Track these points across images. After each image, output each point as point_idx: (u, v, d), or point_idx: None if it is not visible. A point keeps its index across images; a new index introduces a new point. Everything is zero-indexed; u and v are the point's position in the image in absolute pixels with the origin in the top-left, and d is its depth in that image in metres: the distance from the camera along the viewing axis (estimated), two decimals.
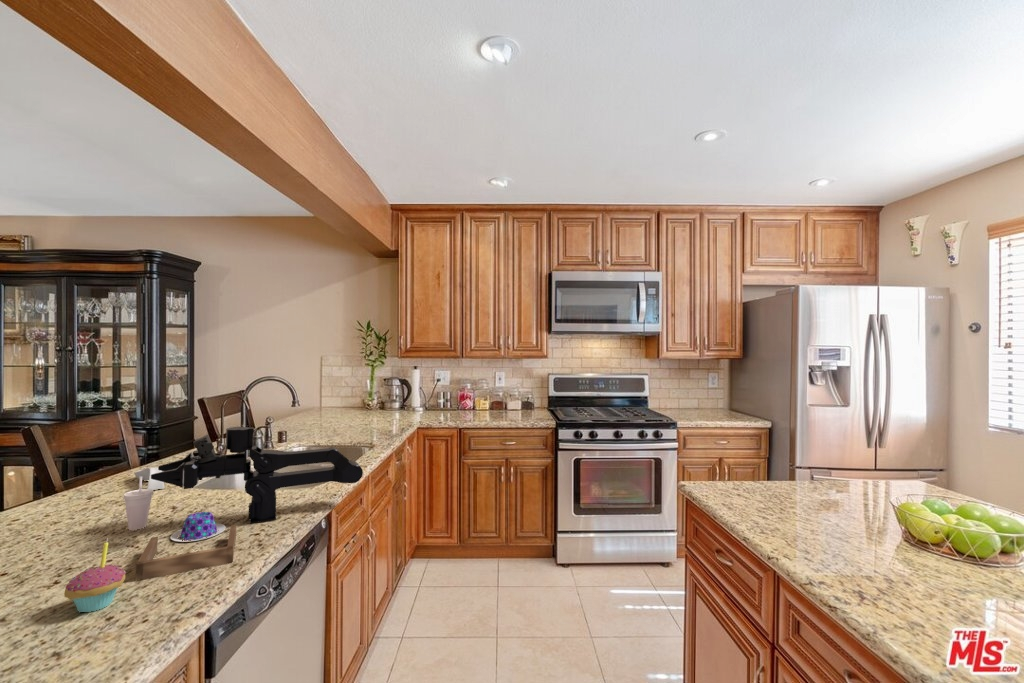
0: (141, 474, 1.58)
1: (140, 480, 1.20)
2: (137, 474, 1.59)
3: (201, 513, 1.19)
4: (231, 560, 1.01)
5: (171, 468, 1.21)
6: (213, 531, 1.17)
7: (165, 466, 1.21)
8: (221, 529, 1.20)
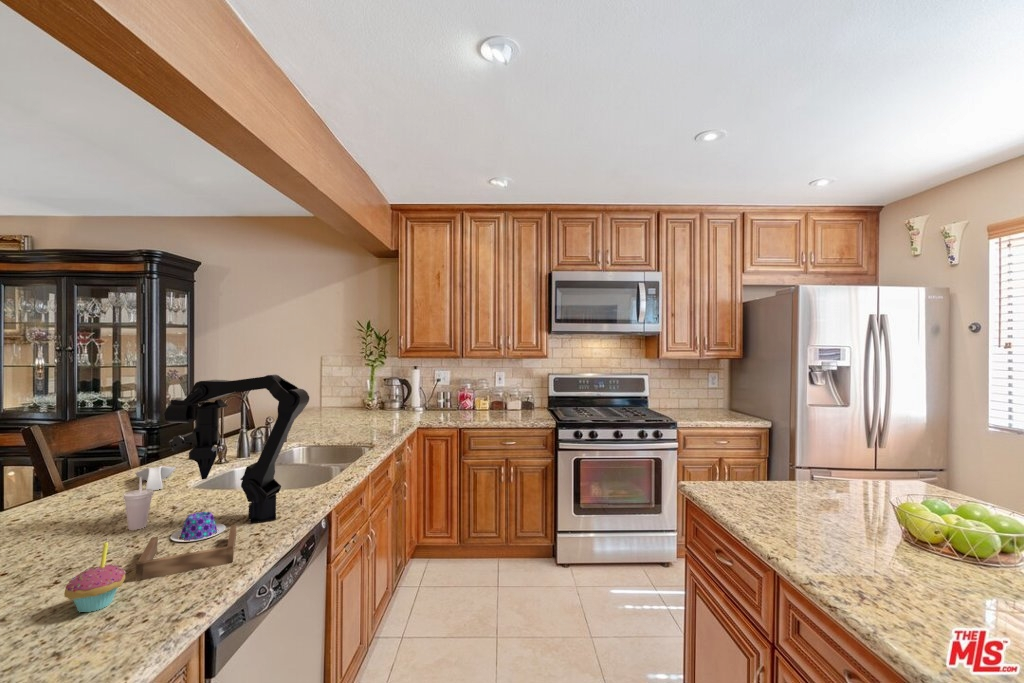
0: (142, 474, 1.58)
1: (140, 480, 1.20)
2: (138, 474, 1.59)
3: (201, 513, 1.19)
4: (231, 560, 1.01)
5: None
6: (213, 531, 1.18)
7: None
8: (221, 529, 1.20)
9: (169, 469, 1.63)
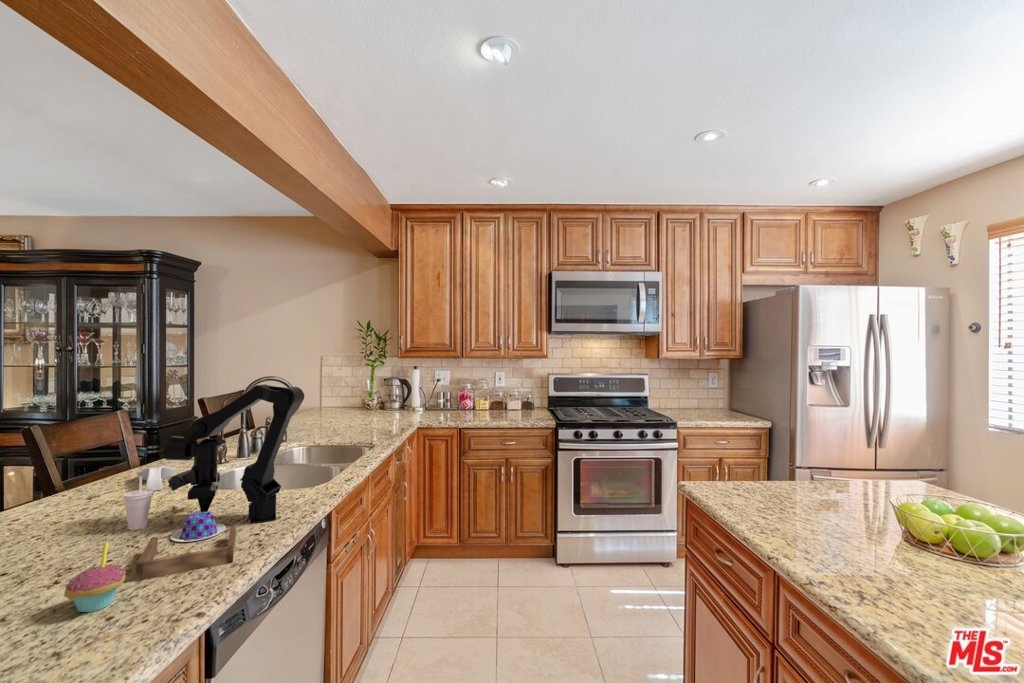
0: (143, 474, 1.58)
1: (140, 480, 1.20)
2: (139, 474, 1.59)
3: (200, 513, 1.19)
4: (231, 560, 1.01)
5: None
6: (214, 531, 1.18)
7: None
8: (221, 528, 1.20)
9: (170, 469, 1.63)
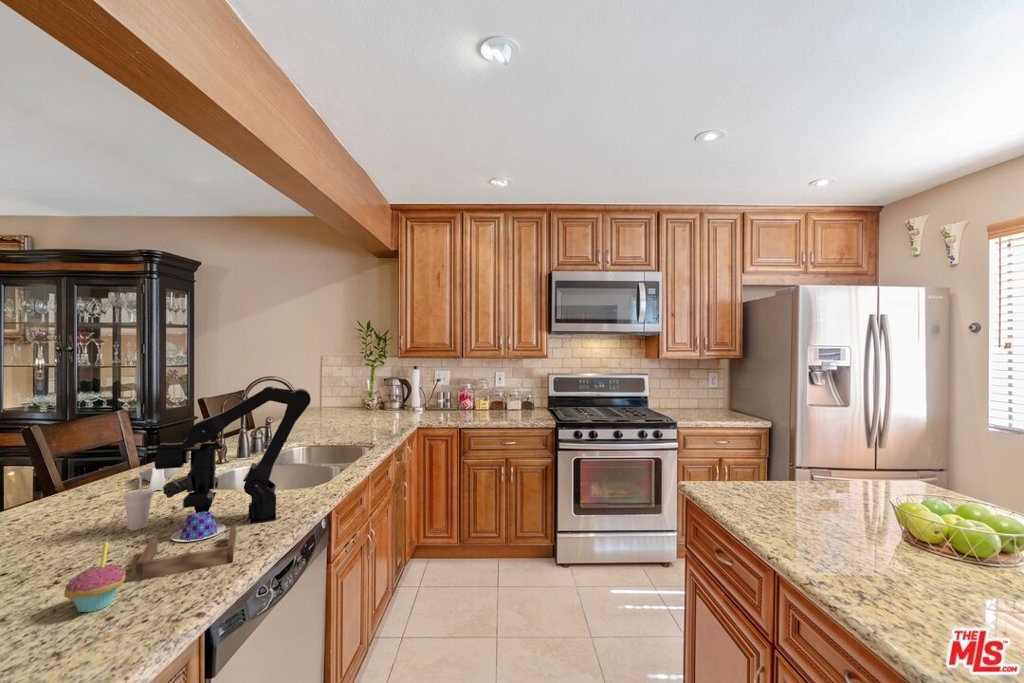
0: (145, 474, 1.58)
1: (140, 480, 1.20)
2: (141, 474, 1.59)
3: (200, 513, 1.19)
4: (231, 560, 1.01)
5: None
6: (214, 530, 1.18)
7: None
8: (221, 528, 1.20)
9: (172, 469, 1.63)
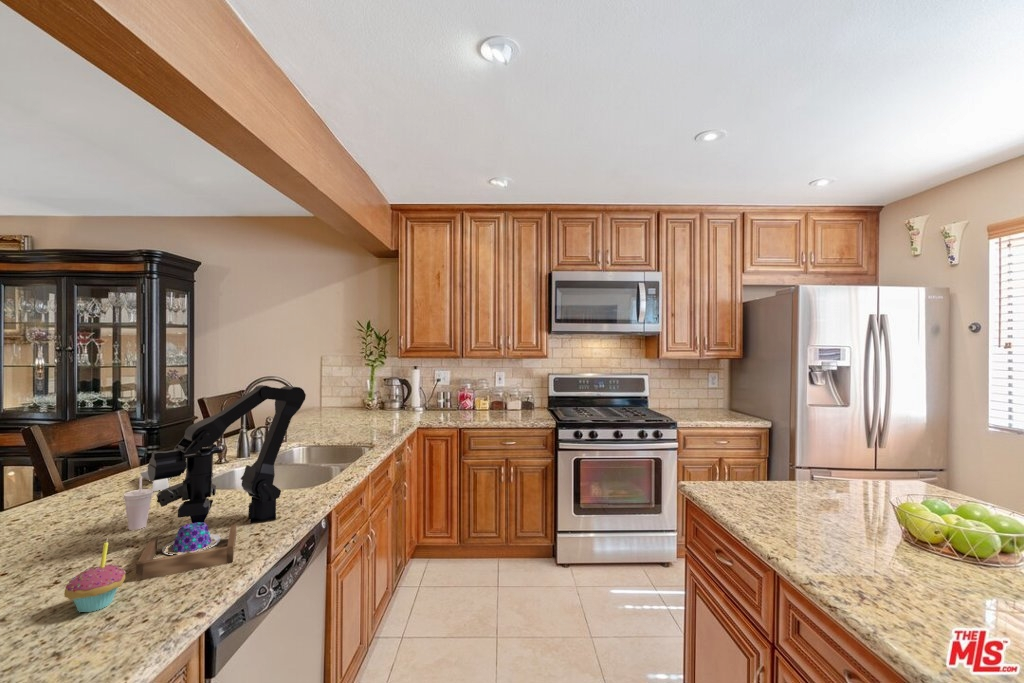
0: (147, 474, 1.58)
1: (140, 480, 1.20)
2: (143, 474, 1.59)
3: (194, 524, 1.12)
4: (231, 560, 1.01)
5: None
6: (208, 542, 1.11)
7: None
8: (216, 540, 1.13)
9: None
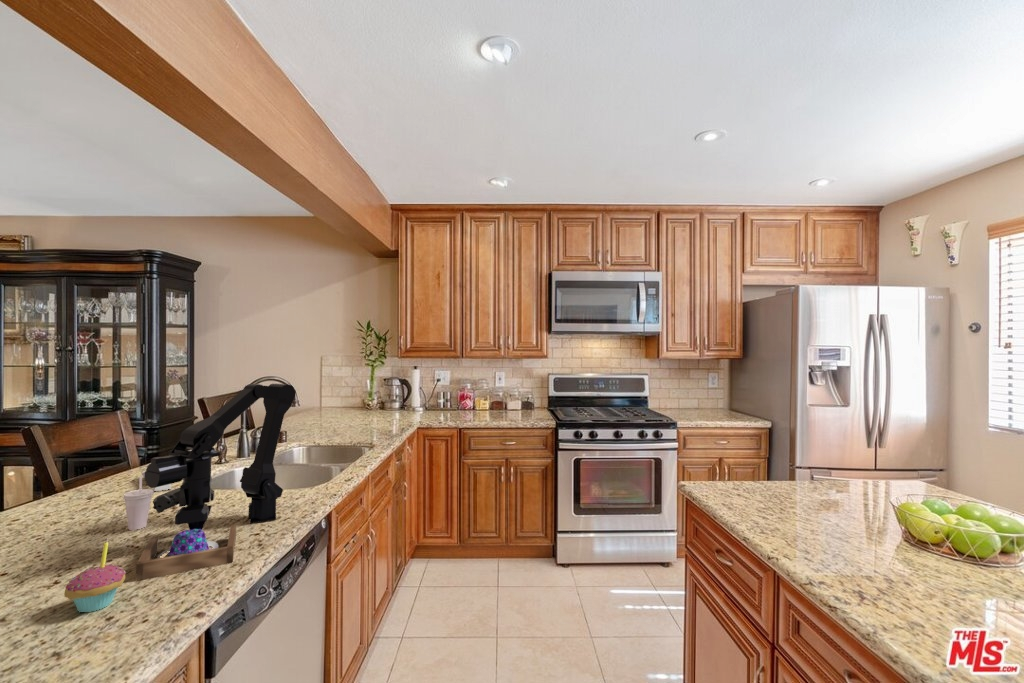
0: None
1: (140, 480, 1.20)
2: (144, 474, 1.59)
3: (190, 531, 1.08)
4: (231, 560, 1.01)
5: None
6: None
7: None
8: (214, 547, 1.09)
9: None
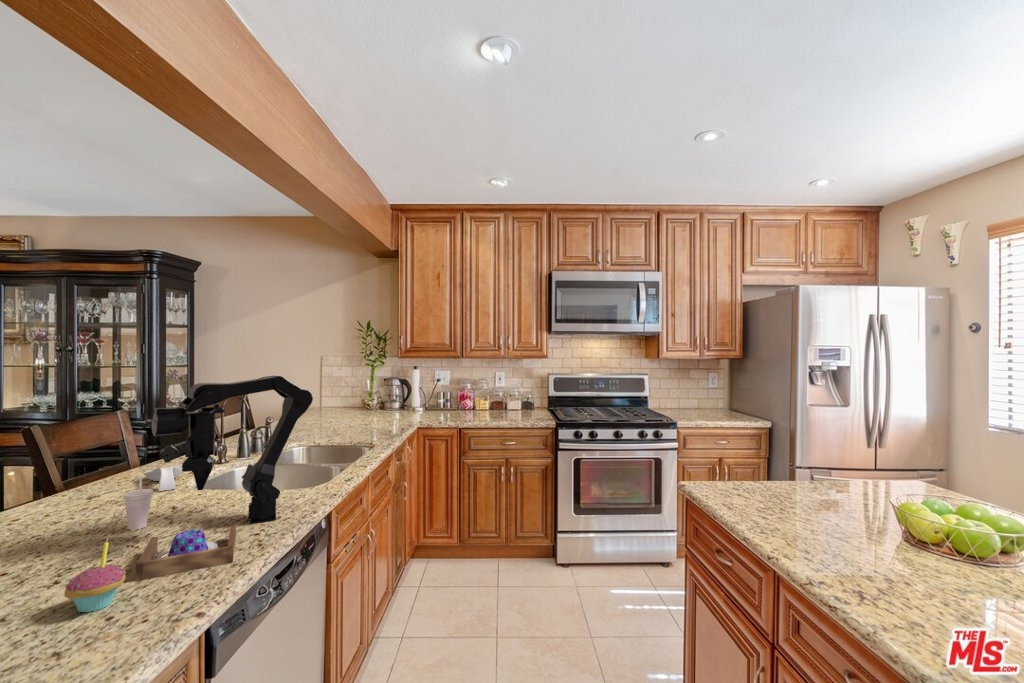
0: (152, 474, 1.58)
1: (140, 480, 1.20)
2: (147, 474, 1.59)
3: (190, 531, 1.07)
4: (231, 560, 1.01)
5: None
6: None
7: None
8: (213, 548, 1.08)
9: (179, 469, 1.63)
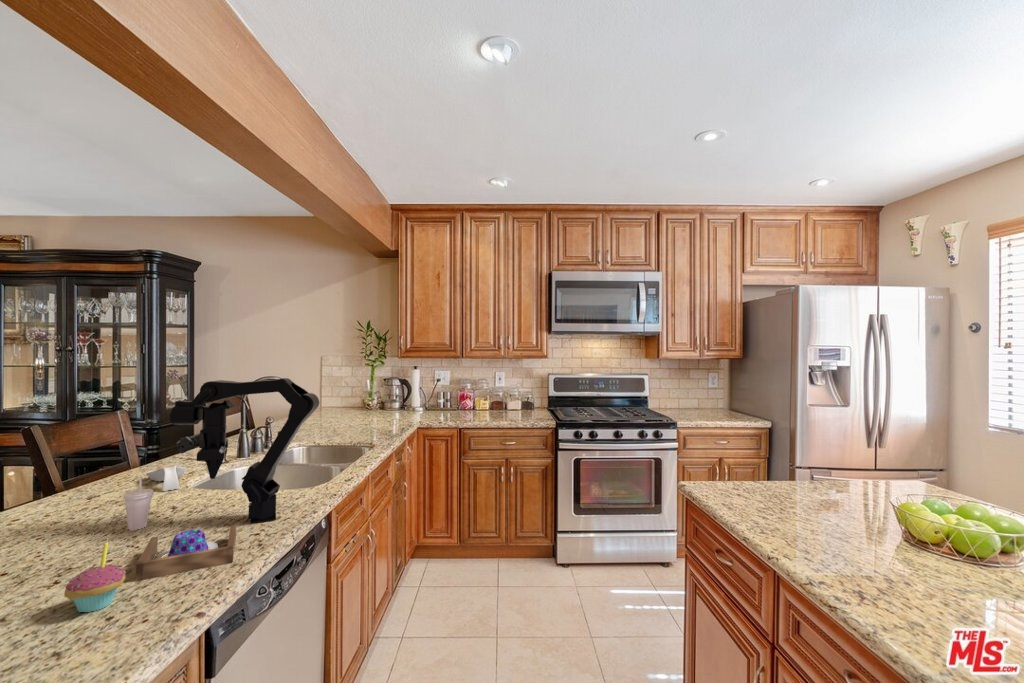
0: (154, 474, 1.58)
1: (140, 480, 1.20)
2: (150, 474, 1.59)
3: (189, 531, 1.07)
4: (231, 560, 1.01)
5: None
6: None
7: None
8: (213, 547, 1.08)
9: (181, 469, 1.63)
